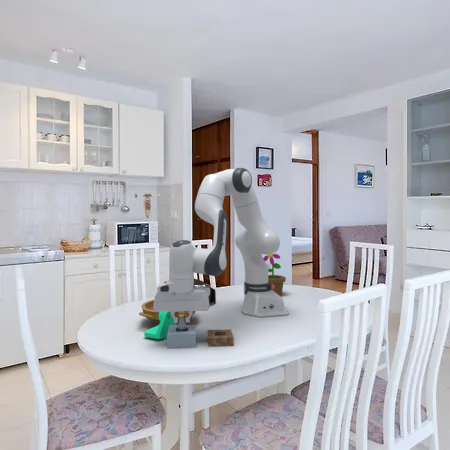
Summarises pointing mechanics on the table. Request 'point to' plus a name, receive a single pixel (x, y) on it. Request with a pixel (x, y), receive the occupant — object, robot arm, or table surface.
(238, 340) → the table surface
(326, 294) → the table surface
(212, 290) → the letter holder
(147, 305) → the ceramic bowl
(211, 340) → the pin mount
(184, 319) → the lock pin
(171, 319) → the camera mount
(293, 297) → the table surface
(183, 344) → the dock
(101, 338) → the table surface
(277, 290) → the flowerpot
